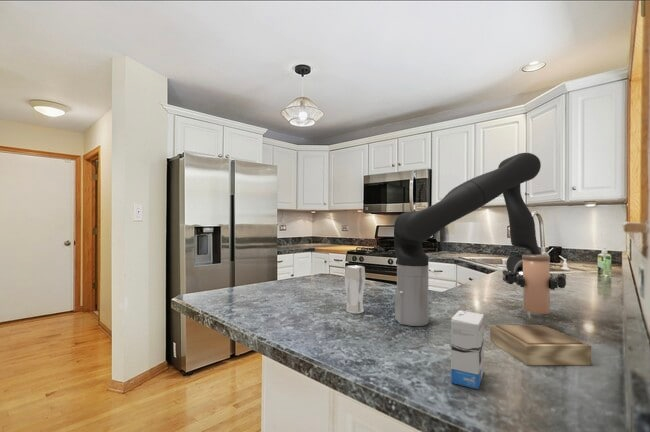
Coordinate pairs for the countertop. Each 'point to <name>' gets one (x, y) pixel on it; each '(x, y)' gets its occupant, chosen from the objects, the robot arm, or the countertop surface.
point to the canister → (536, 283)
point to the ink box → (467, 349)
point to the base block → (540, 345)
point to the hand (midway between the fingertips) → (537, 283)
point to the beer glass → (354, 288)
